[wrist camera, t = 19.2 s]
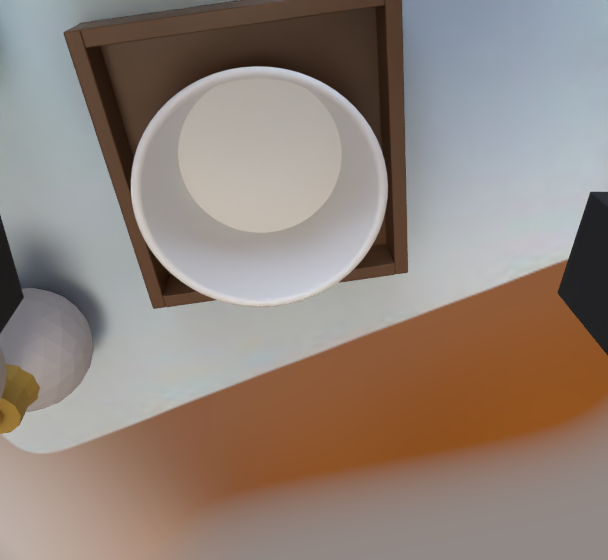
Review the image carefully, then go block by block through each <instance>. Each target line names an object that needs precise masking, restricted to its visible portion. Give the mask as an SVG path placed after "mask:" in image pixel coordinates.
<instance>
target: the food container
mask: <svg viewBox="0 0 608 560" xmlns="http://www.w3.org/2000/svg"><path fill="white" fill-rule="evenodd" d="M131 198H132V205H133V210H134V214H135V218H136V221H137V224H138V227H139V229H140V231H141V234H142V236H143V238H144V240H145V241H146V243H147V245H148V247H149V248H150V250H151V251H152V252H153V254H154V255H155V257H156V258H157V259H158V260H159V261H160V263H161V264H162V265H163V266H164V267H165V268H166V269H167V270H168V271H169V272H170V273H171V274H172V275H174V276H175V277H176V278H177V279H179V280H180V281H181V282H183V283H184V284H186V285H187V286H189V287H190V288H192V289H194V290H196V291H198V292H199V293H201V294H204V295H206V296H208V297H211V298H213V299H216V300H219V301H222V302H226V303H230V304H235V305H241V306H251V307H269V306H280V305H286V304H291V303H295V302H299V301H302V300H305V299H308V298H310V297H313V296H315V295H317V294H320V293H321V292H323V291H325V290H327V289H329V288H330V287H332V286H334V285H335V284H337V283H338V282H339V281H341V280H342V279H343V278H344V277H346V276H347V275H348V274H349V273H350V272H351V271H352V270H353V269H354V268H355V267H356V266H357V265H358V264H359V263H360V262H361V261H362V259H363V258H364V257H365V255H366V254H367V253H368V251H369V250H370V248H371V246H372V245H373V243H374V241H375V239H376V237H377V235H378V233H379V231H380V228H381V225H382V222H383V219H384V215H385V211H386V205H387V198H388V180H387V171H386V165H385V161H384V157H383V154H382V150H381V148H380V145H379V143H378V141H377V138H376V136H375V135H374V133H373V131H372V129H371V127H370V126H369V124H368V123H367V121H366V120H365V119H364V117H363V116H362V115H361V114H360V112H359V111H358V110H357V109H356V108H355V107H354V106H353V105H352V104H351V103H350V102H349V101H348V100H347V99H346V98H345V97H343V96H342V95H341V94H339V93H338V92H337V91H335V90H334V89H332V88H331V87H329V86H328V85H326V84H324V83H322V82H320V81H318V80H316V79H314V78H312V77H310V76H307V75H304V74H301V73H299V72H295V71H291V70H287V69H282V68H275V67H260V66H254V67H241V68H235V69H229V70H225V71H221V72H218V73H214V74H212V75H209V76H207V77H204V78H202V79H200V80H198V81H196V82H194V83H192V84H190V85H189V86H187V87H186V88H184V89H183V90H181V91H180V92H178V93H177V94H176V95H175V96H173V97H172V98H171V99H170V100H169V101H168V102H167V103H166V104H165V105H164V106H163V107H162V108H161V109H160V110H159V111H158V112H157V114H156V115H155V116H154V118H153V119H152V120H151V121H150V123H149V125H148V126H147V128H146V130H145V131H144V133H143V135H142V138H141V140H140V142H139V144H138V147H137V150H136V153H135V156H134V161H133V166H132V173H131Z"/></svg>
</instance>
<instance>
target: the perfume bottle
mask: <svg viewBox="0 0 608 560" xmlns="http://www.w3.org/2000/svg"><path fill="white" fill-rule="evenodd" d="M22 292H23V296H24V298H23V300H22V301H21V303H20V304H19V306H18V307H17V309H16V311H15V312H14V314H13V315H12V317H11V318H10V320H9V321H8V323H7V324H6V326H5V327H4V329H3V330H2V332H1V333H0V434H3V433H9V432H11V431H13V430H14V429H15V428H16V427H18V426H19V425H20V422H21V420H22V418H23V416H24V414H25V412H31V411H35V410H39V409H44V408H46V407H49V406H51V405H54V404H56V403H59V402H60V401H61V400H63V399H64V398H65V397H67V396H68V395H69V394H71V393H72V392H73V391H74V390H75V389H76V388H77V386H78V385H79V384H80V383H81V381H82V380H83V378H84V376H85V374H86V373H87V371H88V369H89V367H90V365H91V359H92V354H93V340H92V333H91V330H90V328H89V325H88V322H87V320H86V318H85V317H84V316H83V314H82V313H81V312H80V311H79V309H78V308H77V307H76V306H75V305H74V304H72V303H71V302H70V301H68V300H67V299H66V298H64V297H63V296H60V295H58V294H55V293H53V292H50V291H46V290H41V289H35V288H22Z"/></svg>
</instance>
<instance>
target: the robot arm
mask: <svg viewBox="0 0 608 560" xmlns="http://www.w3.org/2000/svg"><path fill="white" fill-rule="evenodd" d="M558 294H559V296H560V297H561V298H562V299H563V300H564V301H565V303H566V304H567V305H568V307H569V308H570V309H571V310H572V312H573V313H574V314H575V315H576V317H577V318H578V319H579V320H580V321H581V323H582V324H583V325H584V327H585V328H586V329H587V330H588V332H589V333H590V334H591V335H592V337H593V338H594V339H595V340H596V341H597V343H598V344H599V345H600V346H601V348H602V349H603V350H604V351H605V353H606V354H607V355H608V192H590V195H589V198H588V201H587V204H586V207H585V210H584V213H583V217H582V220H581V223H580V226H579V229H578V232H577V235H576V238H575V241H574V244H573V247H572V250H571V253H570V256H569V259H568V263H567V265H566V269H565V272H564V275H563V278H562V281H561V284H560V287H559V290H558ZM23 298H24V296H23V292H22V289H21V285H20V282H19V278H18V275H17V272H16V268H15V265H14V261H13V258H12V254H11V251H10V247H9V244H8V240H7V237H6V233H5V230H4V226H3V223H2V220H1V216H0V333H1V332H2V330H3V329H4V327H5V326H6V324H7V323H8V321H9V320H10V318H11V317H12V315H13V314H14V312H15V311H16V309H17V307H18V306H19V304H20V303H21V301H22V300H23Z"/></svg>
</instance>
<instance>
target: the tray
mask: <svg viewBox="0 0 608 560" xmlns="http://www.w3.org/2000/svg"><path fill="white" fill-rule="evenodd" d="M64 36H65V39H66V43H67V46H68V49H69V52H70V55H71V58H72V61H73V64H74V67H75V70H76V73H77V76H78V79H79V82H80V85H81V89H82V92H83V95H84V98H85V101H86V104H87V107H88V110H89V113H90V116H91V119H92V122H93V125H94V128H95V131H96V134H97V138H98V141H99V144H100V147H101V150H102V153H103V156H104V159H105V162H106V165H107V168H108V171H109V174H110V177H111V180H112V184H113V187H114V190H115V193H116V196H117V199H118V202H119V205H120V208H121V211H122V214H123V217H124V220H125V223H126V226H127V230H128V233H129V236H130V239H131V242H132V245H133V248H134V251H135V254H136V257H137V260H138V263H139V266H140V269H141V272H142V276H143V279H144V282H145V285H146V288H147V291H148V294H149V297H150V300H151V303H152V306H153V308H154V309H155V308H162V307H171V306H178V305H185V304H192V303H199V302H206V301H213V300H216V299H213V298H211V297H208V296H206V295H204V294H201V293H199V292H198V291H196V290H194V289H192V288H190V287H189V286H187V285H186V284H184V283H183V282H181V281H180V280H179V279H177V278H176V277H175V276H174V275H172V274H171V273H170V272H169V271H168V270H167V269H166V268H165V267H164V266H163V265H162V264H161V263H160V261H159V260H158V259H157V258H156V257H155V255H154V254H153V252H152V251H151V250H150V248H149V247H148V245H147V243H146V241H145V240H144V238H143V236H142V234H141V231H140V229H139V227H138V224H137V221H136V218H135V214H134V210H133V205H132V198H131V173H132V166H133V161H134V156H135V153H136V150H137V147H138V144H139V142H140V140H141V138H142V135H143V133H144V131H145V130H146V128H147V126H148V125H149V123H150V121H151V120H152V119H153V118H154V116H155V115H156V114H157V112H158V111H159V110H160V109H161V108H162V107H163V106H164V105H165V104H166V103H167V102H168V101H169V100H170V99H171V98H172V97H173V96H175V95H176V94H177V93H178V92H180V91H181V90H183V89H184V88H186V87H187V86H189V85H190V84H192V83H194V82H196V81H198V80H200V79H202V78H204V77H207V76H209V75H212V74H214V73H218V72H221V71H225V70H229V69H235V68H241V67H254V66H260V67H275V68H282V69H287V70H291V71H295V72H299V73H301V74H304V75H307V76H310V77H312V78H314V79H316V80H318V81H320V82H322V83H324V84H326V85H328V86H329V87H331V88H332V89H334V90H335V91H337V92H338V93H339V94H341V95H342V96H343V97H345V98H346V99H347V100H348V101H349V102H350V103H351V104H352V105H353V106H354V107H355V108H356V109H357V110H358V111H359V112H360V114H361V115H362V116H363V117H364V119H365V120H366V121H367V123H368V124H369V126H370V127H371V129H372V131H373V133H374V135H375V136H376V138H377V141H378V143H379V145H380V148H381V150H382V154H383V157H384V161H385V165H386V171H387V180H388V198H387V205H386V211H385V215H384V219H383V222H382V225H381V228H380V231H379V233H378V235H377V237H376V239H375V241H374V243H373V245H372V246H371V248H370V250H369V251H368V253H367V254H366V255H365V257H364V258H363V259H362V261H361V262H360V263H359V264H358V265H357V266H356V267H355V268H354V269H353V270H352V271H351V272H350V273H349V274H348V275H347V276H346V277H344V278H343V279H342V280H341V281H339V282H346V281H353V280H360V279H367V278H374V277H381V276H388V275H394V274H401V273H407V272H408V252H407V207H406V163H405V119H404V74H403V30H402V0H239V1H232V2H225V3H218V4H211V5H204V6H197V7H190V8H183V9H176V10H169V11H162V12H155V13H148V14H141V15H134V16H127V17H120V18H113V19H106V20H99V21H92V22H85V23H80V24H78V25H76V26H75V27H73V28H71V29H69V30H67V31H65V32H64ZM339 282H338V283H339Z"/></svg>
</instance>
